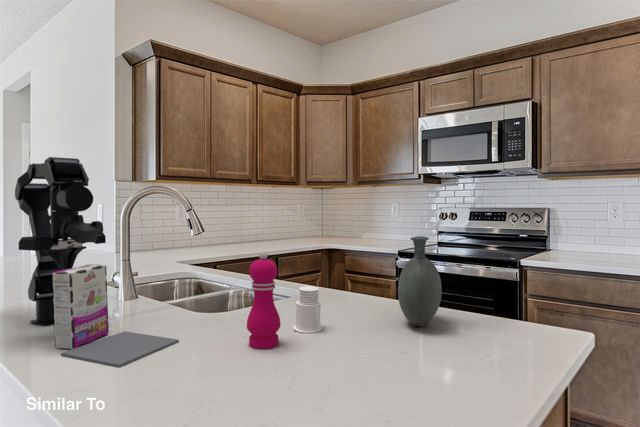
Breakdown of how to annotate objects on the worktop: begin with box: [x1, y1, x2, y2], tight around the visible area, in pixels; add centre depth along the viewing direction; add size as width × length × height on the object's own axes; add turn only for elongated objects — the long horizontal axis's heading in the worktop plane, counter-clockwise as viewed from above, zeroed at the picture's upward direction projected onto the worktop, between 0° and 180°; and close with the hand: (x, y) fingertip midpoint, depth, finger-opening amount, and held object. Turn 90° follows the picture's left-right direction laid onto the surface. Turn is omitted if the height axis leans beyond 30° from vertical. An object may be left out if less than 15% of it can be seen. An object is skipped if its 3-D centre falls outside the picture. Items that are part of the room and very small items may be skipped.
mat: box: [60, 330, 180, 368], centre depth 92 cm, size 16×16×1 cm
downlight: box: [292, 285, 323, 334], centre depth 106 cm, size 8×7×10 cm
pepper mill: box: [246, 251, 281, 350], centre depth 95 cm, size 7×7×20 cm
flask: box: [397, 235, 443, 327], centre depth 109 cm, size 12×17×22 cm
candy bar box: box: [52, 263, 110, 350], centre depth 97 cm, size 11×5×16 cm, turn 168°
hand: (66, 276), depth 104 cm, fingers closed
